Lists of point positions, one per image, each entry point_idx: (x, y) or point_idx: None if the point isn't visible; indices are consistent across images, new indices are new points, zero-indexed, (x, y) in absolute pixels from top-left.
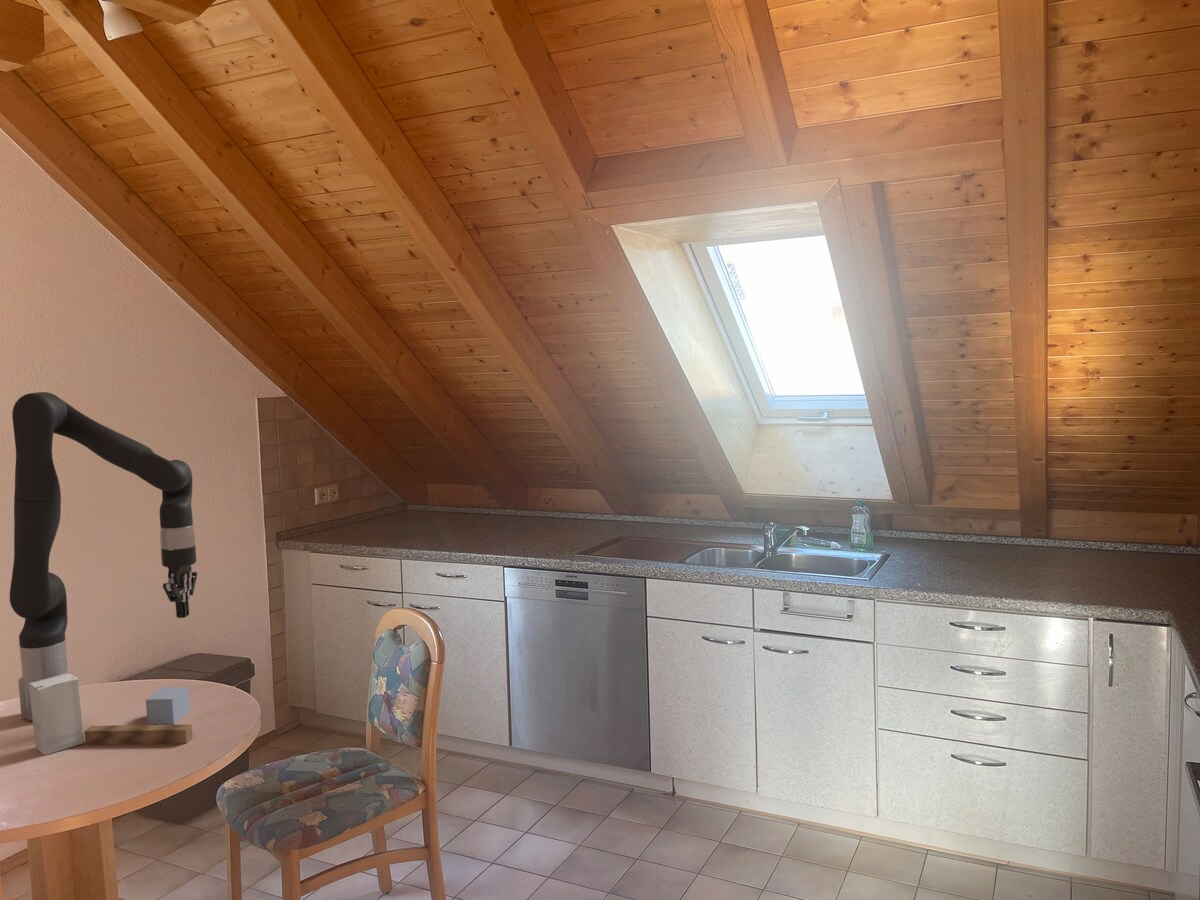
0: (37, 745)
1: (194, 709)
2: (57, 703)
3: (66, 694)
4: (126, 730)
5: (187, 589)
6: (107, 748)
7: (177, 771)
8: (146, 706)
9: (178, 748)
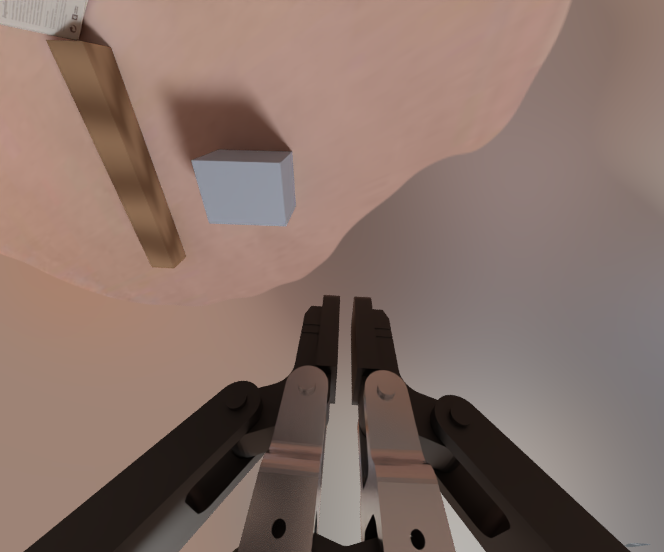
0: None
1: (306, 211)
2: None
3: None
4: (103, 162)
5: (361, 510)
6: None
7: (87, 277)
8: (199, 157)
9: None
